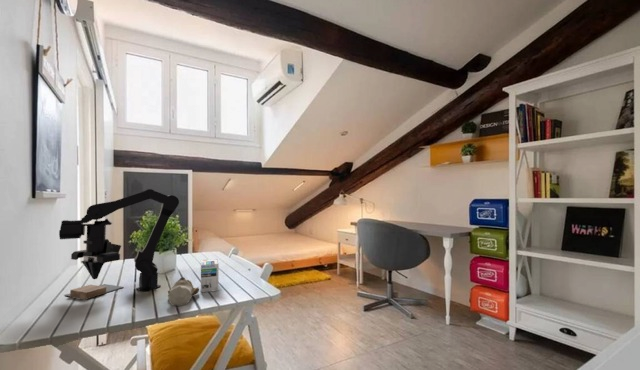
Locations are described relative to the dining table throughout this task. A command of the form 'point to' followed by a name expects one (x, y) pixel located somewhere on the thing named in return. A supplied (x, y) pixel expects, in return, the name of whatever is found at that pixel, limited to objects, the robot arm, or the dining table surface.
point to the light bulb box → (209, 275)
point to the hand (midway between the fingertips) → (95, 278)
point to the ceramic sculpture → (182, 292)
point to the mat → (108, 289)
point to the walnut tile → (88, 291)
